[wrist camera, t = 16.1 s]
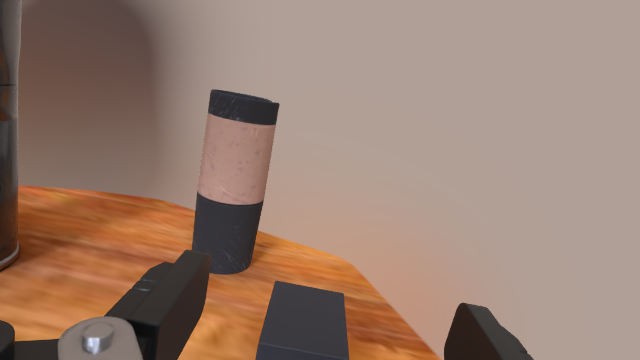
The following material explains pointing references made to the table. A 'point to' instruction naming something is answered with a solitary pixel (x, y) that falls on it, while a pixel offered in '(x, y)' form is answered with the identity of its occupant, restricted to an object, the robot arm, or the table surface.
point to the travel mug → (233, 178)
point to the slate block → (304, 325)
